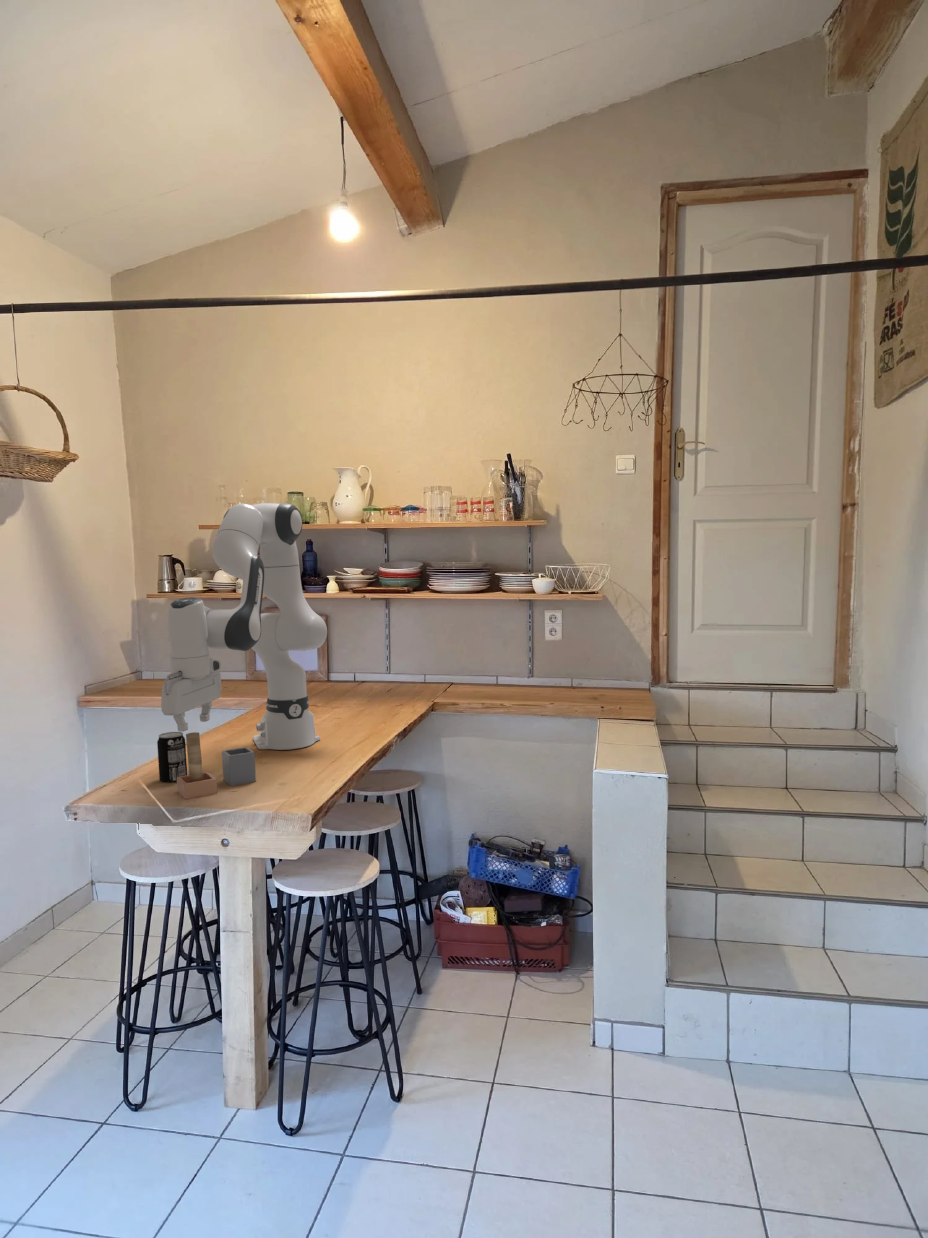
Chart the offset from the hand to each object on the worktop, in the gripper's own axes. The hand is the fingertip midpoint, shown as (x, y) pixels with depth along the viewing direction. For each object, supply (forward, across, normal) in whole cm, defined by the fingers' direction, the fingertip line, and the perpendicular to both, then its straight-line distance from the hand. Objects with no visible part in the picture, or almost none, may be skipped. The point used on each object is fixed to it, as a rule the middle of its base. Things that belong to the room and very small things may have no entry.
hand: (194, 725), depth 186 cm
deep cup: (+17, +9, -6) cm, 20 cm away
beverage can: (+17, +9, +12) cm, 22 cm away
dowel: (+16, 0, 0) cm, 16 cm away
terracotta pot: (+16, -1, 0) cm, 17 cm away
